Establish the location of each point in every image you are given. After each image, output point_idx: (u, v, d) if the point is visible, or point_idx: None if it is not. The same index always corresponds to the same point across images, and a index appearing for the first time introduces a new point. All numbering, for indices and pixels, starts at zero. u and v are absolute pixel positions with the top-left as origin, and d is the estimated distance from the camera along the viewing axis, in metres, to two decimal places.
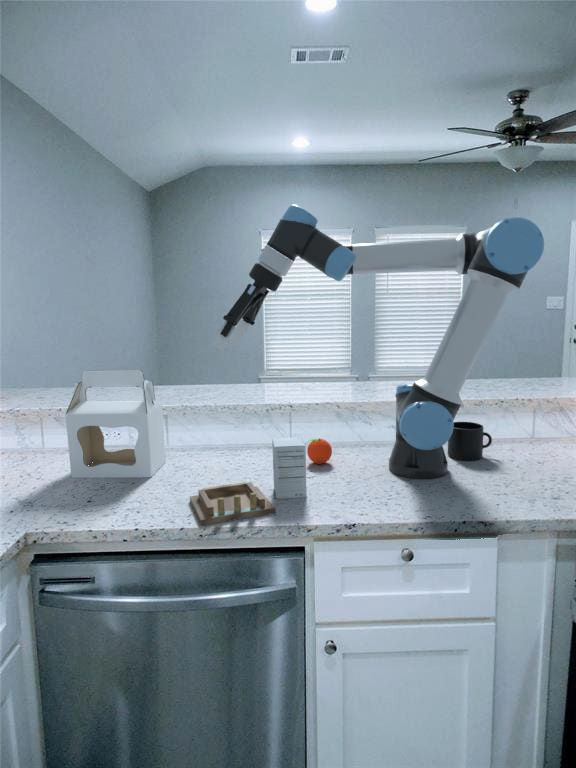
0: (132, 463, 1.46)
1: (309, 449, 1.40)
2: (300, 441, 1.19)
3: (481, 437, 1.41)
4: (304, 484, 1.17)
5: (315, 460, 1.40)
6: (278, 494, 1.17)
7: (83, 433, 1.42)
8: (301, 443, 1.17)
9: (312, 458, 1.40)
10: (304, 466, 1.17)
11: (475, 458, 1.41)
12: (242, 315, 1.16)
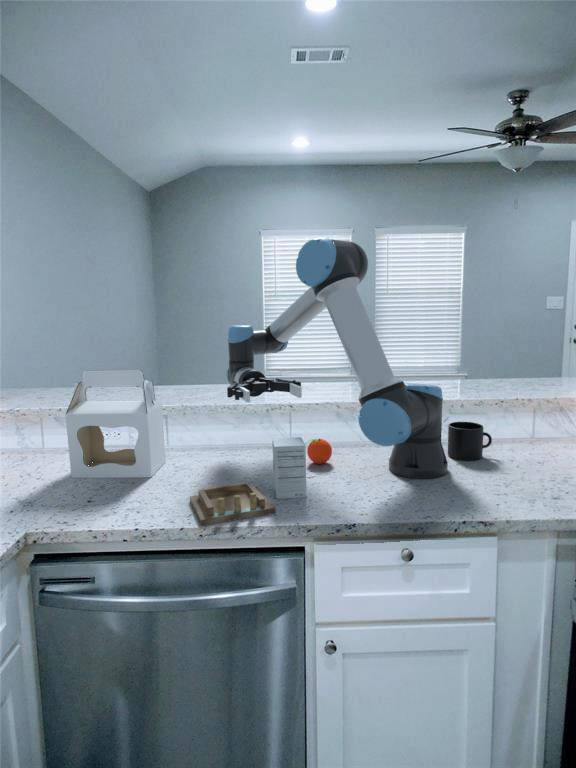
0: (132, 463, 1.46)
1: (309, 449, 1.40)
2: (300, 441, 1.19)
3: (481, 437, 1.41)
4: (304, 484, 1.17)
5: (315, 460, 1.40)
6: (278, 494, 1.17)
7: (83, 433, 1.42)
8: (301, 443, 1.17)
9: (312, 458, 1.40)
10: (304, 466, 1.17)
11: (475, 458, 1.41)
12: (239, 385, 1.33)
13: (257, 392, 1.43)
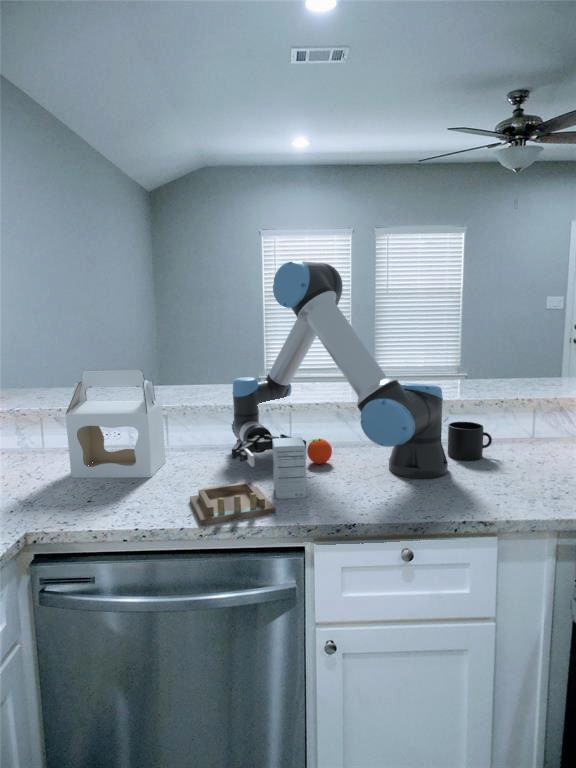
0: (132, 463, 1.46)
1: (309, 449, 1.40)
2: (300, 441, 1.19)
3: (481, 437, 1.41)
4: (304, 484, 1.17)
5: (315, 460, 1.40)
6: (278, 494, 1.17)
7: (83, 433, 1.42)
8: (301, 443, 1.17)
9: (312, 458, 1.40)
10: (304, 466, 1.17)
11: (475, 458, 1.41)
12: (244, 446, 1.32)
13: (262, 448, 1.42)
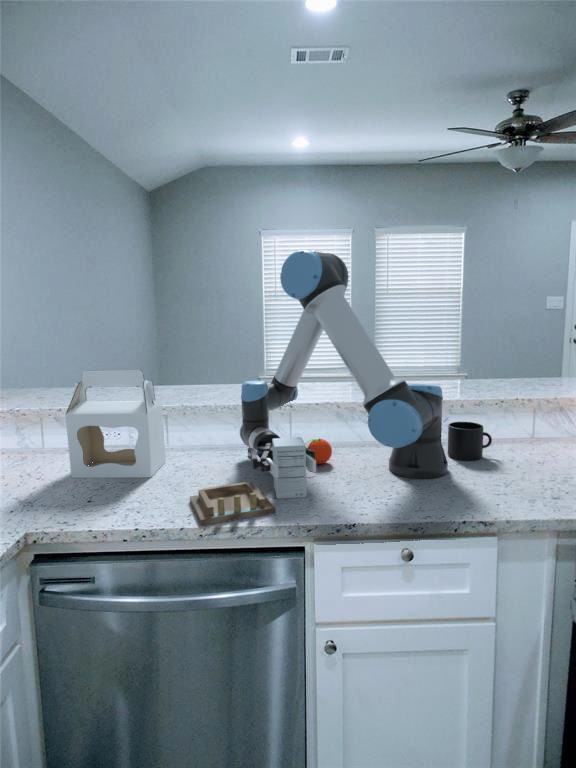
0: (132, 463, 1.46)
1: None
2: (300, 441, 1.19)
3: (481, 437, 1.41)
4: (304, 484, 1.17)
5: None
6: (278, 493, 1.17)
7: (83, 433, 1.42)
8: (301, 443, 1.17)
9: None
10: (304, 466, 1.17)
11: (475, 458, 1.41)
12: (262, 455, 1.23)
13: None
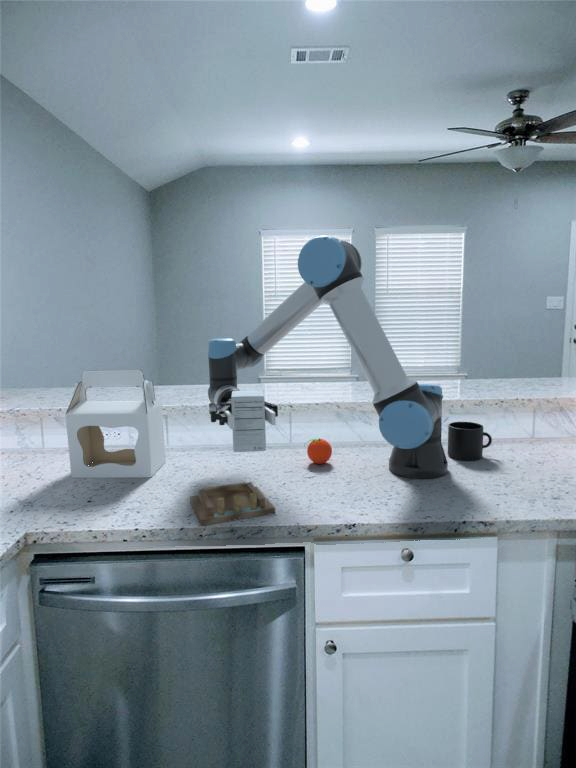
0: (132, 463, 1.46)
1: (309, 449, 1.40)
2: (260, 393, 1.13)
3: (481, 437, 1.41)
4: (263, 437, 1.12)
5: (315, 460, 1.40)
6: (235, 447, 1.12)
7: (83, 433, 1.42)
8: (260, 394, 1.12)
9: (312, 458, 1.40)
10: (263, 418, 1.11)
11: (475, 458, 1.41)
12: (222, 408, 1.17)
13: None
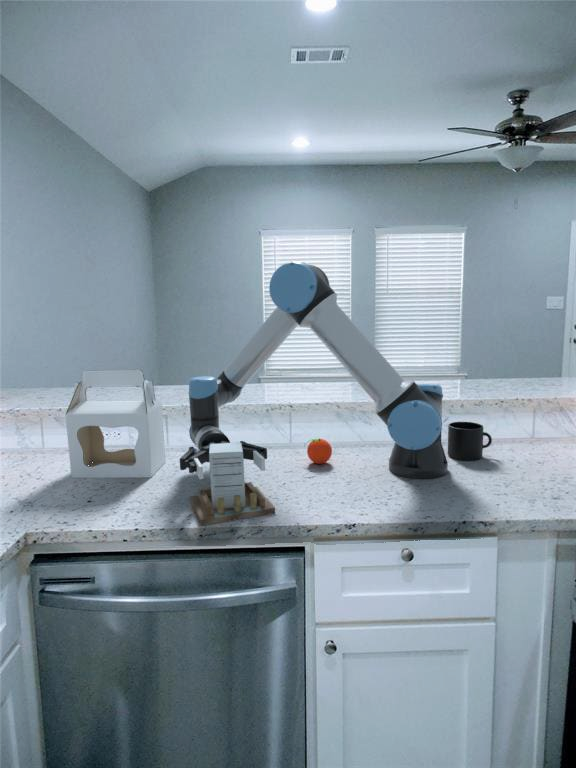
0: (132, 463, 1.46)
1: (309, 449, 1.40)
2: (238, 447, 1.11)
3: (481, 437, 1.41)
4: (242, 493, 1.10)
5: (315, 460, 1.40)
6: (214, 503, 1.09)
7: (83, 433, 1.42)
8: (239, 449, 1.10)
9: (312, 458, 1.40)
10: (242, 473, 1.09)
11: (475, 458, 1.41)
12: (194, 455, 1.15)
13: None
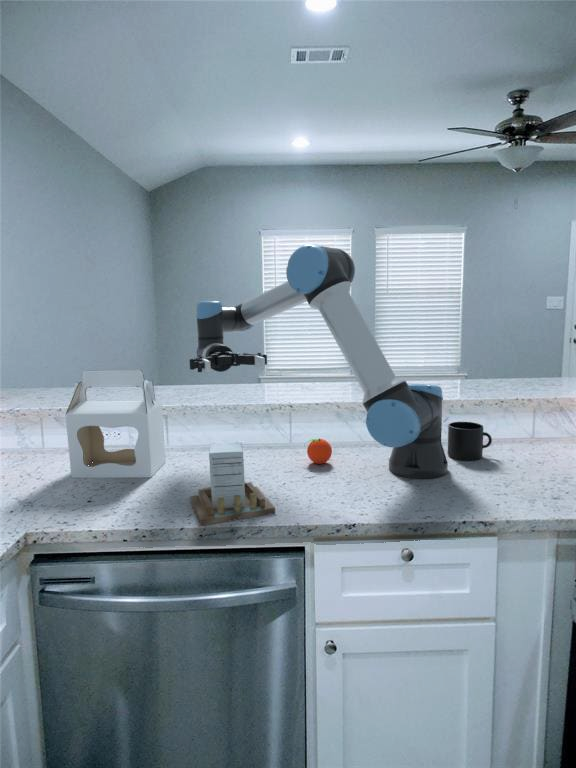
0: (132, 463, 1.46)
1: (309, 449, 1.40)
2: (238, 447, 1.11)
3: (481, 437, 1.41)
4: (242, 493, 1.10)
5: (315, 460, 1.40)
6: (214, 503, 1.09)
7: (83, 433, 1.42)
8: (239, 449, 1.10)
9: (312, 458, 1.40)
10: (242, 474, 1.09)
11: (475, 458, 1.41)
12: (202, 358, 1.30)
13: (224, 367, 1.40)
